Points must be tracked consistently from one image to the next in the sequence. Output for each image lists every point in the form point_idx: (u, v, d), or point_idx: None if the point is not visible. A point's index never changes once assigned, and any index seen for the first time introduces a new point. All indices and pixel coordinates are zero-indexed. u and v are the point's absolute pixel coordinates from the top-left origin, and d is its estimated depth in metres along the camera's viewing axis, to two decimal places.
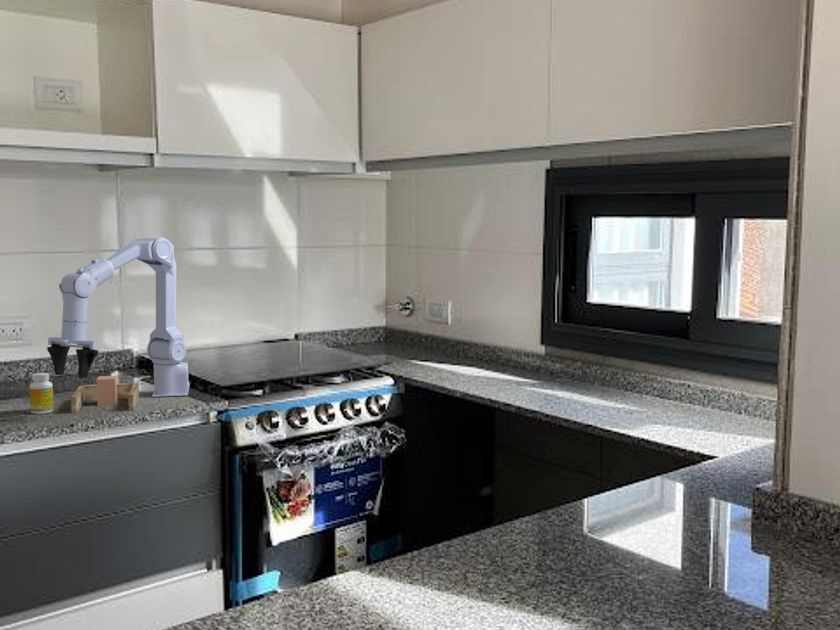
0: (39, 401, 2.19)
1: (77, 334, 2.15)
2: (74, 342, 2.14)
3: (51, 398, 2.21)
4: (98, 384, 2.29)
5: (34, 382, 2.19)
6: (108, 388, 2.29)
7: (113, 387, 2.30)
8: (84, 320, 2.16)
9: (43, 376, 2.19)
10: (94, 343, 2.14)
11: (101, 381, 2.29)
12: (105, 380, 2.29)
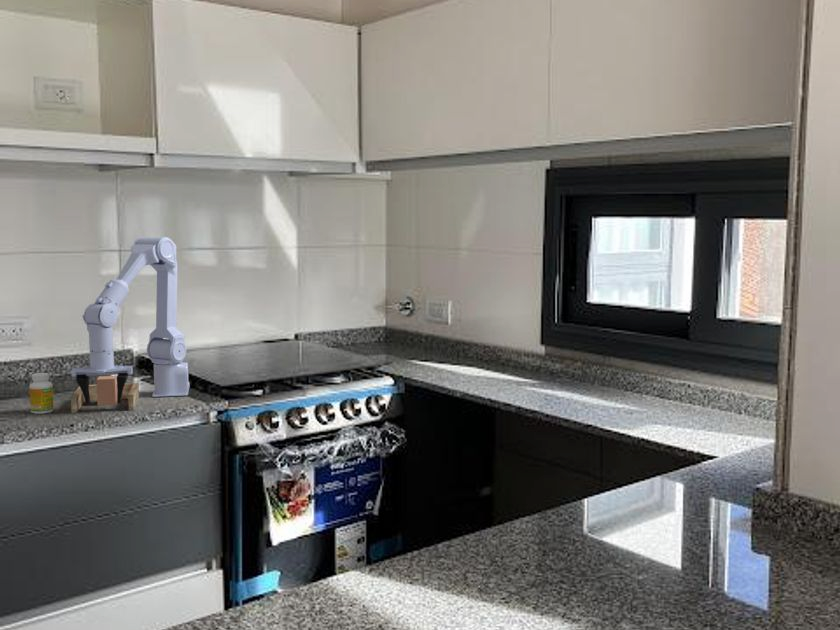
0: (39, 401, 2.19)
1: (112, 362, 2.22)
2: (112, 370, 2.21)
3: (51, 398, 2.21)
4: (98, 384, 2.29)
5: (34, 382, 2.19)
6: (108, 388, 2.29)
7: (113, 387, 2.30)
8: (111, 348, 2.21)
9: (43, 376, 2.19)
10: (131, 368, 2.24)
11: (101, 381, 2.29)
12: (105, 380, 2.29)
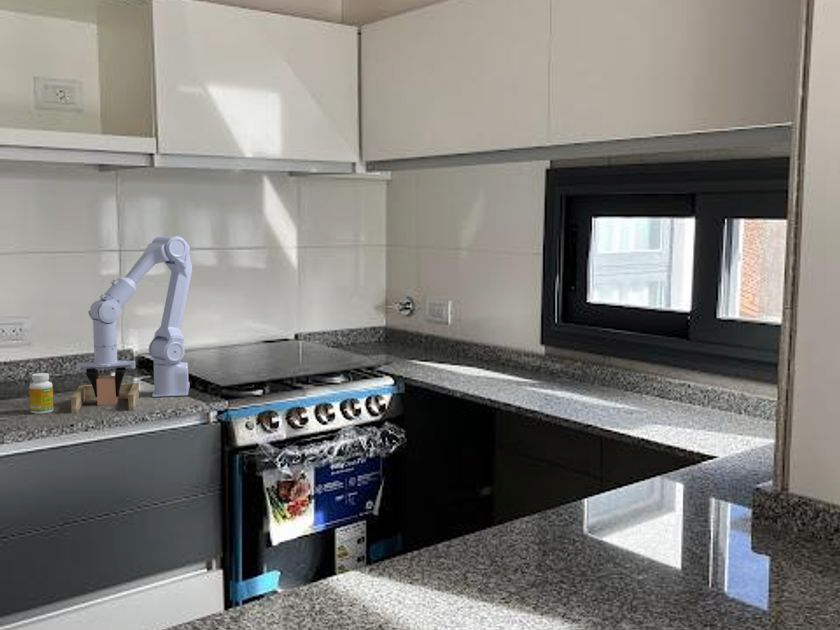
0: (39, 401, 2.19)
1: (115, 357, 2.30)
2: (115, 365, 2.29)
3: (51, 398, 2.21)
4: (98, 384, 2.29)
5: (34, 382, 2.19)
6: (108, 388, 2.29)
7: (113, 387, 2.30)
8: (112, 344, 2.29)
9: (43, 376, 2.19)
10: (134, 363, 2.32)
11: (101, 381, 2.29)
12: (105, 380, 2.29)
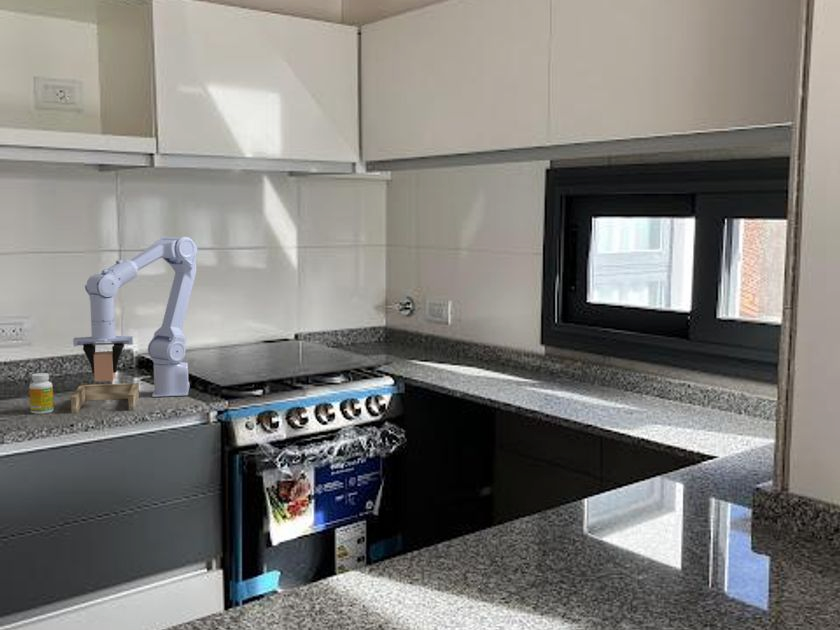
0: (39, 401, 2.19)
1: (113, 332, 2.26)
2: (112, 340, 2.25)
3: (51, 398, 2.21)
4: (95, 359, 2.25)
5: (34, 382, 2.19)
6: (105, 363, 2.25)
7: (110, 363, 2.26)
8: (111, 319, 2.25)
9: (43, 376, 2.19)
10: (132, 338, 2.28)
11: (98, 356, 2.25)
12: (102, 355, 2.25)
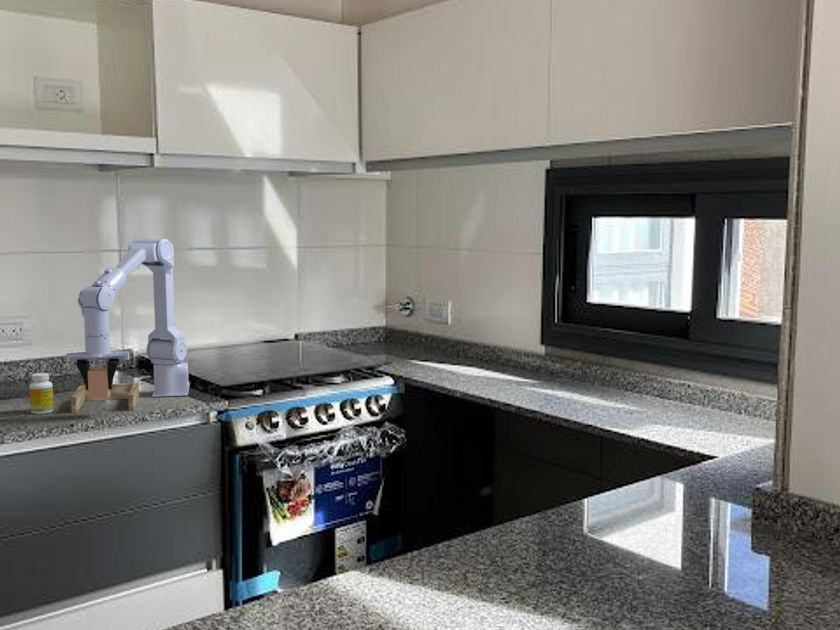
0: (39, 401, 2.19)
1: (107, 347, 2.15)
2: (107, 355, 2.14)
3: (51, 398, 2.21)
4: (89, 376, 2.14)
5: (34, 382, 2.19)
6: (100, 380, 2.14)
7: (105, 379, 2.15)
8: (108, 333, 2.15)
9: (43, 376, 2.19)
10: (128, 353, 2.17)
11: (92, 373, 2.14)
12: (97, 372, 2.14)
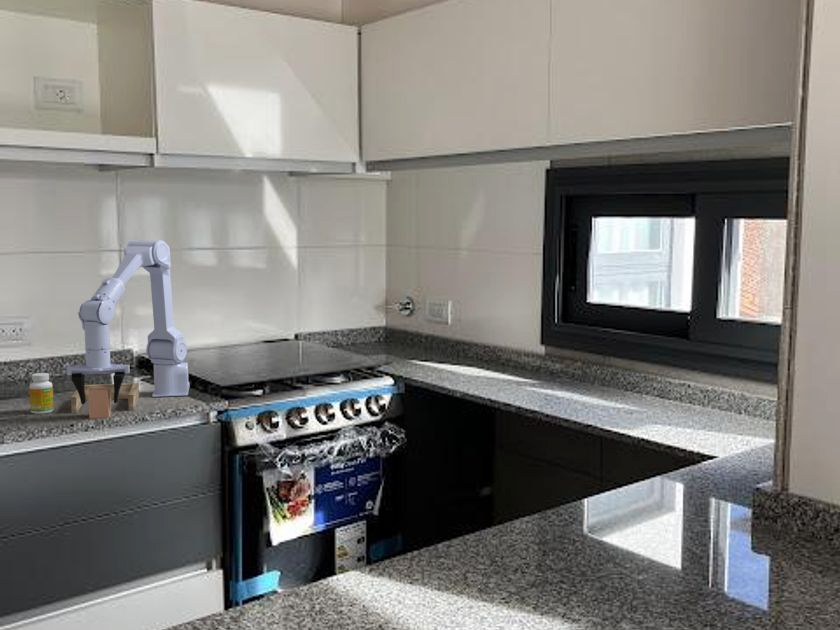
0: (39, 401, 2.19)
1: (108, 361, 2.15)
2: (108, 369, 2.14)
3: (51, 398, 2.21)
4: (90, 396, 2.14)
5: (34, 382, 2.19)
6: (100, 400, 2.15)
7: (106, 399, 2.15)
8: (108, 346, 2.15)
9: (43, 376, 2.19)
10: (128, 367, 2.17)
11: (93, 392, 2.14)
12: (98, 391, 2.14)
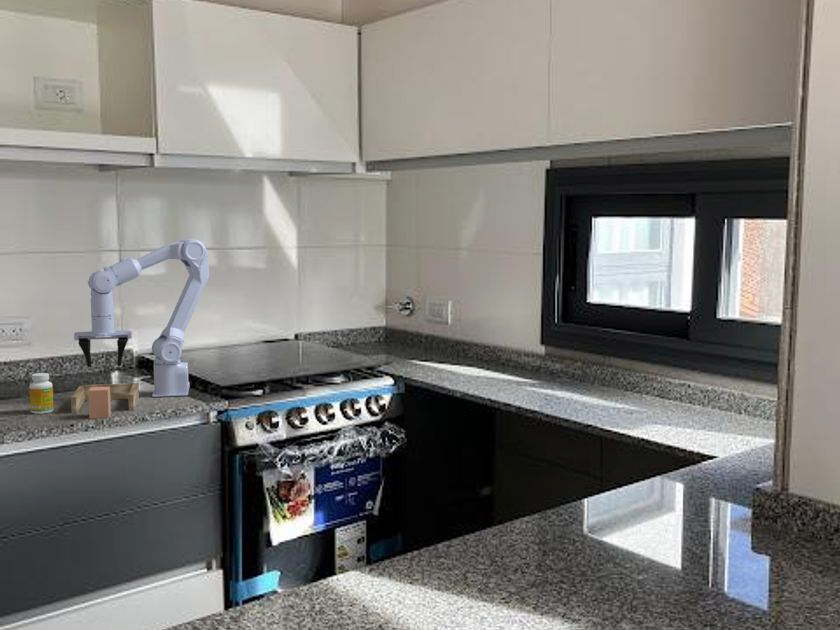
0: (39, 401, 2.19)
1: (112, 327, 2.33)
2: (112, 334, 2.32)
3: (51, 398, 2.21)
4: (90, 396, 2.14)
5: (34, 382, 2.19)
6: (100, 400, 2.15)
7: (106, 399, 2.15)
8: (107, 314, 2.31)
9: (43, 376, 2.19)
10: (131, 333, 2.35)
11: (93, 392, 2.14)
12: (98, 391, 2.14)
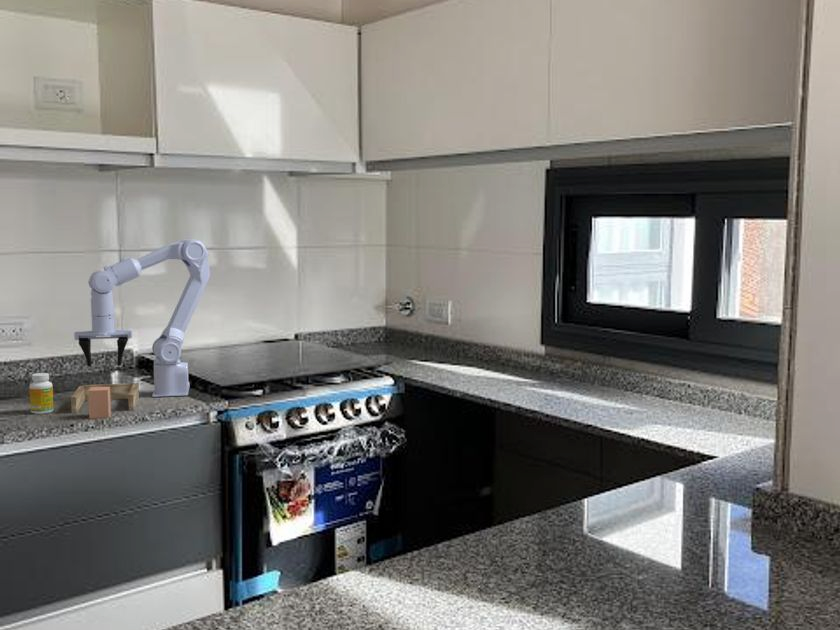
0: (39, 401, 2.19)
1: (112, 327, 2.34)
2: (112, 334, 2.33)
3: (51, 398, 2.21)
4: (90, 396, 2.14)
5: (34, 382, 2.19)
6: (100, 400, 2.15)
7: (106, 399, 2.15)
8: (107, 314, 2.32)
9: (43, 376, 2.19)
10: (131, 332, 2.35)
11: (93, 392, 2.14)
12: (98, 391, 2.14)
